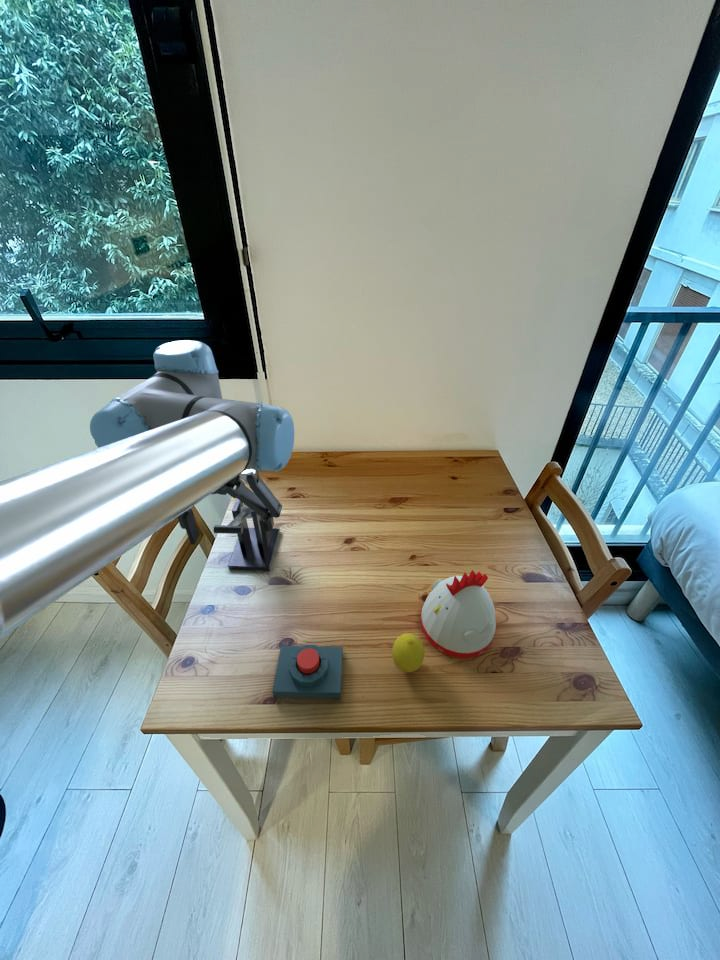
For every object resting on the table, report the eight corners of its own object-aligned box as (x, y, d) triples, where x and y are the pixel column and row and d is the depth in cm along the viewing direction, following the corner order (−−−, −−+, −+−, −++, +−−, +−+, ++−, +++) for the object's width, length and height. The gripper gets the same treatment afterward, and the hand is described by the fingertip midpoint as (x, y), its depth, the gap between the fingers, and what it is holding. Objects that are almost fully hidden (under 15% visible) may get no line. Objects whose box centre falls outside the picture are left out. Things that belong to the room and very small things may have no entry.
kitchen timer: (408, 606, 82) (415, 555, 73) (467, 586, 86) (480, 535, 77) (443, 669, 72) (457, 618, 63) (508, 643, 76) (529, 592, 67)
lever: (241, 537, 74) (240, 525, 73) (213, 536, 74) (213, 524, 74) (261, 514, 88) (261, 503, 87) (238, 513, 88) (237, 503, 87)
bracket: (269, 571, 89) (261, 524, 80) (228, 569, 89) (216, 523, 80) (280, 532, 98) (273, 487, 90) (243, 530, 98) (233, 485, 90)
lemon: (428, 669, 72) (434, 644, 67) (404, 686, 69) (407, 662, 64) (408, 644, 75) (412, 619, 70) (384, 660, 73) (386, 635, 68)
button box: (274, 697, 67) (271, 686, 65) (282, 652, 74) (279, 640, 71) (340, 699, 67) (340, 687, 65) (342, 653, 74) (342, 641, 71)
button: (296, 674, 67) (295, 668, 66) (299, 653, 70) (298, 647, 69) (318, 674, 67) (317, 669, 66) (320, 653, 70) (319, 648, 69)
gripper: (290, 434, 66) (300, 528, 79) (138, 430, 66) (173, 524, 79) (282, 460, 60) (294, 557, 73) (115, 455, 61) (157, 553, 73)
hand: (231, 540), depth 76 cm, fingers open, 13 cm apart
